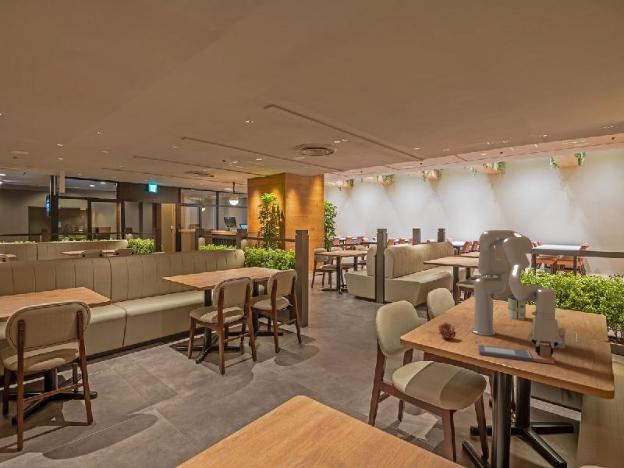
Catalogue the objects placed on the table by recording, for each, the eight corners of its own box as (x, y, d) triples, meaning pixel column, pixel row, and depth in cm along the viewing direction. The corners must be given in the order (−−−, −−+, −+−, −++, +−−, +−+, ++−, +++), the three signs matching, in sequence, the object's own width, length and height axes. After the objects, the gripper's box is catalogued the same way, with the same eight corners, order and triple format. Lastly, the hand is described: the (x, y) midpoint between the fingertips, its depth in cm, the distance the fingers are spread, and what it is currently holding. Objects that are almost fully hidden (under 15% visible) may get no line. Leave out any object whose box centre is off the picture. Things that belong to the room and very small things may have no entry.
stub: (529, 353, 172) (529, 340, 172) (549, 356, 169) (549, 342, 169) (533, 361, 163) (533, 347, 163) (554, 364, 160) (554, 349, 160)
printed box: (548, 344, 186) (549, 325, 185) (564, 347, 182) (565, 327, 181) (548, 346, 183) (549, 327, 182) (564, 349, 179) (565, 329, 178)
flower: (432, 332, 199) (436, 323, 194) (444, 327, 203) (449, 318, 198) (444, 346, 192) (448, 337, 188) (456, 341, 196) (461, 332, 191)
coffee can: (512, 315, 243) (512, 294, 242) (528, 318, 234) (529, 297, 234) (504, 317, 237) (504, 296, 236) (520, 321, 228) (521, 299, 228)
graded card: (553, 337, 196) (554, 329, 211) (553, 338, 196) (554, 330, 211) (577, 341, 190) (576, 332, 204) (577, 342, 190) (576, 333, 204)
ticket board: (478, 347, 180) (478, 344, 180) (528, 354, 172) (528, 350, 172) (479, 354, 171) (479, 351, 171) (532, 361, 163) (532, 357, 163)
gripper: (525, 315, 164) (524, 355, 165) (569, 319, 158) (568, 360, 159) (522, 311, 171) (521, 349, 172) (564, 315, 165) (563, 354, 166)
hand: (544, 354), depth 165 cm, fingers closed on stub, 4 cm apart
